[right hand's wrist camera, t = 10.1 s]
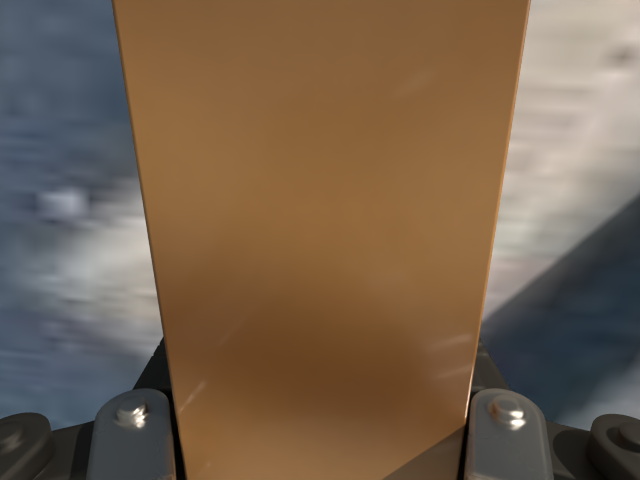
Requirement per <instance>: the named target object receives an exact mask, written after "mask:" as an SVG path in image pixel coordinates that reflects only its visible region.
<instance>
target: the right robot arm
mask: <svg viewBox="0 0 640 480" xmlns="http://www.w3.org/2000/svg"><path fill="white" fill-rule="evenodd" d="M0 480H186V477H185V471H184V464H183V458H182V451H181V445H180V439H179V432H178V426H177V419H176V413H175V406H174V400H173V394H172V387H171V381H170V374H169V368H168V361H167V355H166V348H165V342H164V336H163V338H162V340H161V342H160V345H159V346H158V347H157V348H156V350H155V352H154V356H152V357H151V359H150V360H149V362H148V364H147V366H146V367H145V369H144V371H143V372H142V374H141V376H140V378H139V379H138V381H137V383H136V384H135V386H134V388H133V390H131V391H127V392H125V393H122V394H120V395H118V396H116V397H114V398H112V399H111V400H109V401H108V402H107V403H106V404H105V405H104V406H102V407H101V409H100V410H99V411H98V413H97V415H96V417H95V420H94V421H91V422H88V423H84V424H80V425H76V426H71V427H67V428H63V429H58V430H54V431H52V430H51V427H50V423H49V421H48V419H47V418H46V417H45V416H43V415H41V414H38V413H20V414H15V415H11V416H8V417H5V418H2V419H0ZM457 480H640V420H638V419H636V418H633V417H629V416H625V415H619V414H606V415H602V416H599V417H597V418H596V419H595V420H594V421H593V424H592V427H591V430H590V431H586V430H582V429H577V428H573V427H569V426H564V425H560V424H556V423H553V422H550V421H547V420H545V417H544V415H543V413H542V411H541V410H540V409H539V407H537V406H536V405H535V404H534V403H533V402H532V401H531V400H529V399H528V398H526V397H524V396H522V395H520V394H518V393H515V392H513V391H511V390H510V388H509V387H508V385H507V383H506V381H505V380H504V378H503V376H502V375H501V373H500V371H499V370H498V368H497V366H496V365H495V363H494V361H493V360H492V358H491V357H489V353H488V351H487V349H486V348H485V346H483V343H482V341H481V339H480V338H479V340H478V347H477V353H476V360H475V366H474V373H473V379H472V386H471V392H470V399H469V405H468V412H467V418H466V424H465V431H464V437H463V444H462V450H461V457H460V463H459V470H458V476H457Z"/></svg>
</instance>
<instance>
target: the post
mask: <svg viewBox="0 0 640 480" xmlns="http://www.w3.org/2000/svg"><path fill="white" fill-rule="evenodd" d="M111 1H112V7H113V14H114V20H115V27H116V33H117V39H118V46H119V52H120V59H121V65H122V72H123V78H124V85H125V91H126V97H127V104H128V110H129V117H130V123H131V130H132V136H133V142H134V149H135V155H136V162H137V168H138V175H139V181H140V188H141V194H142V200H143V207H144V213H145V220H146V226H147V233H148V239H149V245H150V252H151V258H152V265H153V271H154V278H155V284H156V291H157V297H158V303H159V310H160V316H161V323H162V329H163V336H164V342H165V348H166V355H167V361H168V368H169V374H170V381H171V387H172V394H173V400H174V406H175V413H176V419H177V426H178V432H179V439H180V445H181V451H182V458H183V464H184V471H185V477H186V480H457V476H458V470H459V463H460V457H461V450H462V444H463V437H464V431H465V424H466V418H467V412H468V405H469V399H470V392H471V386H472V379H473V373H474V366H475V360H476V353H477V347H478V340H479V334H480V327H481V321H482V314H483V308H484V301H485V295H486V288H487V282H488V275H489V269H490V262H491V256H492V249H493V243H494V236H495V230H496V223H497V217H498V210H499V204H500V197H501V191H502V184H503V178H504V172H505V165H506V159H507V152H508V146H509V139H510V133H511V126H512V120H513V113H514V107H515V100H516V94H517V87H518V81H519V74H520V68H521V61H522V55H523V48H524V42H525V35H526V29H527V22H528V16H529V9H530V3H531V0H111Z"/></svg>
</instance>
